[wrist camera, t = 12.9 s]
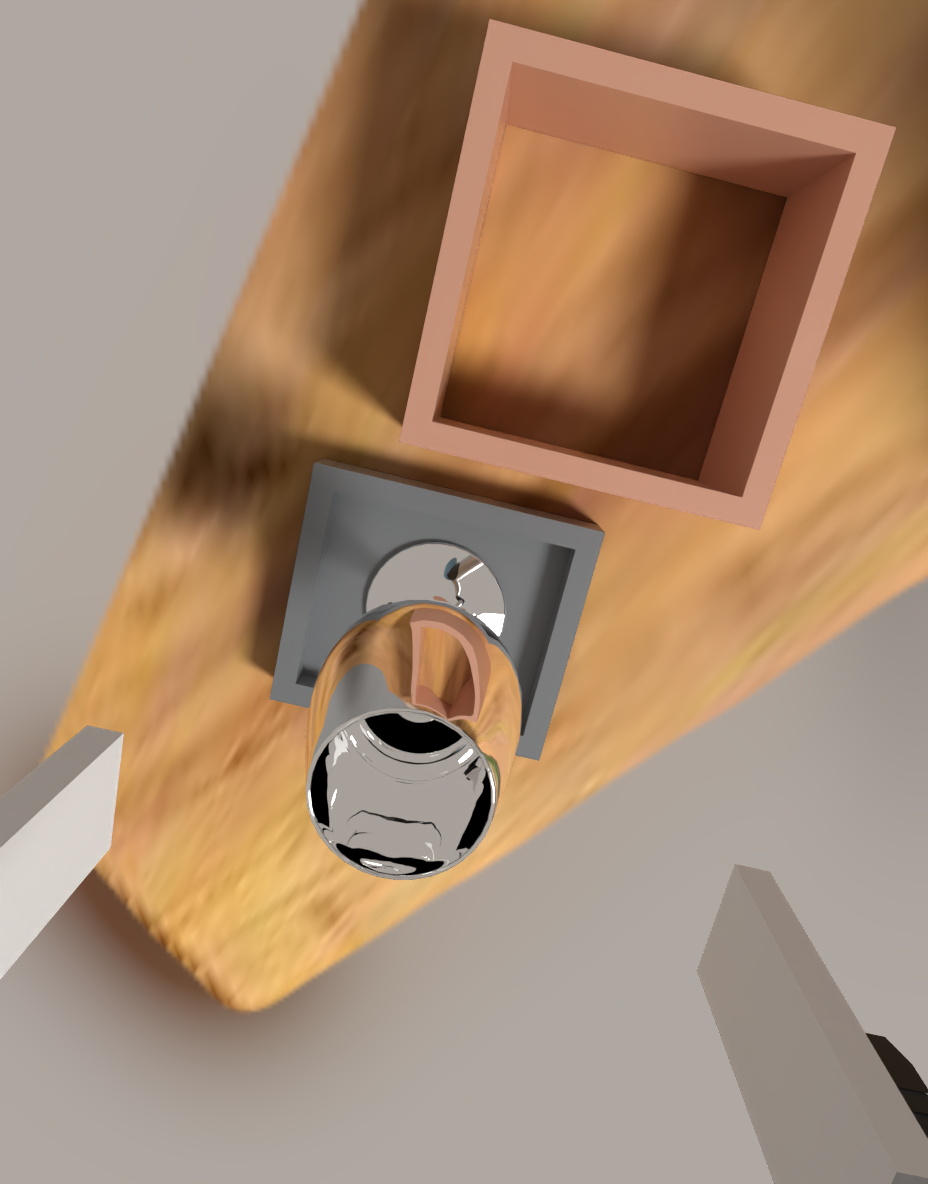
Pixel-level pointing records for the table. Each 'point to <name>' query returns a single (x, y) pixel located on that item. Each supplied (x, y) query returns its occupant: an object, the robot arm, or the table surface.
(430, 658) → the wineglass
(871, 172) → the holder
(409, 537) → the tray
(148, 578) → the table surface
